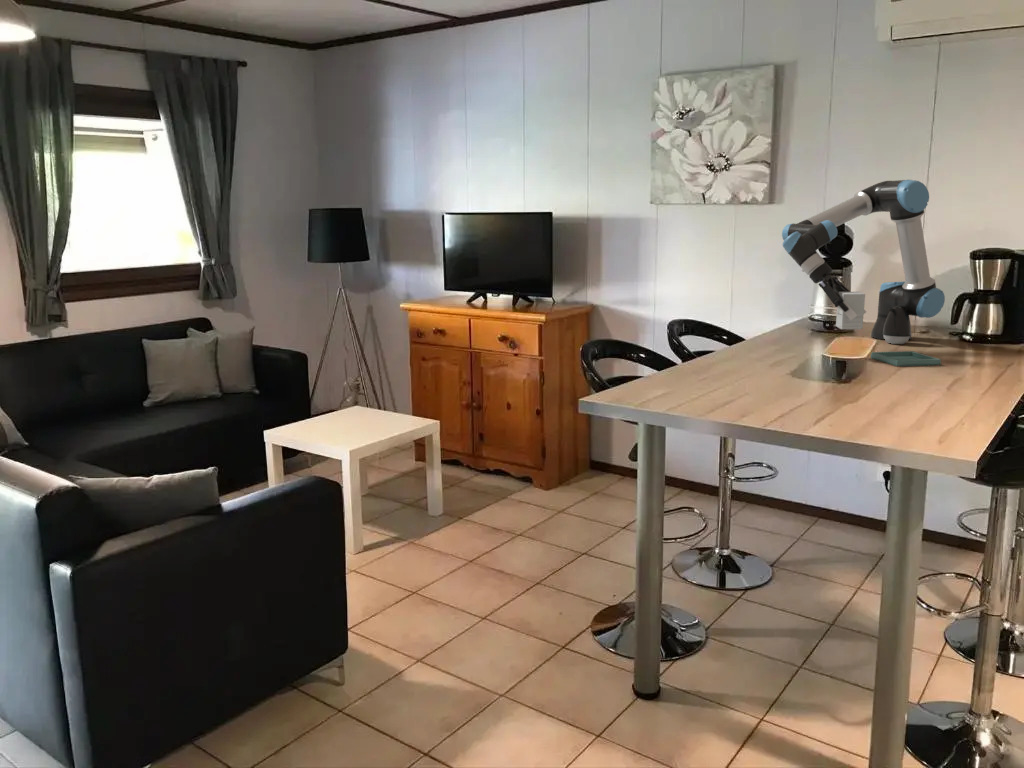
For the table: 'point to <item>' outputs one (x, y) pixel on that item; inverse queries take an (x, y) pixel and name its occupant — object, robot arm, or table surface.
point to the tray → (905, 358)
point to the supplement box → (857, 304)
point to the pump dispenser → (897, 326)
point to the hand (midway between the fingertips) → (858, 316)
